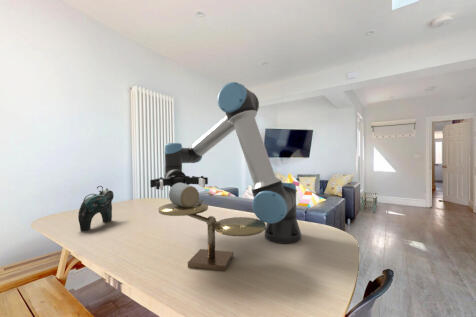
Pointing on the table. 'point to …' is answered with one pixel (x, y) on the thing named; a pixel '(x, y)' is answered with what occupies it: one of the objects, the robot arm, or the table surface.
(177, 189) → the ceramic mug
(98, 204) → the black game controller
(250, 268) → the table surface
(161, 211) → the balance
